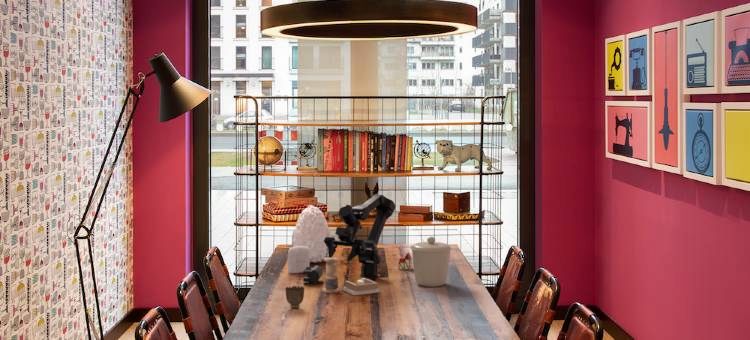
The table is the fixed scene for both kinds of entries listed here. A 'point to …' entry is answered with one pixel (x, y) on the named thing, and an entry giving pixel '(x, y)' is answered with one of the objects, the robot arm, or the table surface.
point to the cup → (294, 296)
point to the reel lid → (360, 281)
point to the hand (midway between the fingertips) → (338, 260)
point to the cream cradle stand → (361, 287)
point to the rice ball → (312, 233)
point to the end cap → (312, 275)
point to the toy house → (405, 262)
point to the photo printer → (298, 259)
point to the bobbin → (331, 275)
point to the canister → (431, 262)
